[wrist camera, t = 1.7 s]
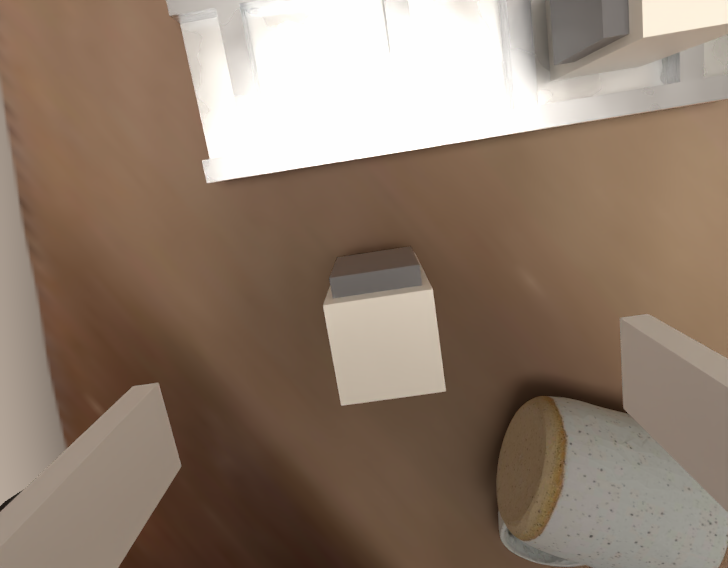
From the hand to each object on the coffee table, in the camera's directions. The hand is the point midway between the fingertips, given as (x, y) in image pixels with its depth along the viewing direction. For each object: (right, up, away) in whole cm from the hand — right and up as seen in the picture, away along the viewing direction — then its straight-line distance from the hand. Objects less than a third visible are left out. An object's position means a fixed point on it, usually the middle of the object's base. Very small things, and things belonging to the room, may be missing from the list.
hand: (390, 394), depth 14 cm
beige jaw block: (0, +3, +12) cm, 12 cm away
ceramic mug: (+11, -7, +14) cm, 19 cm away
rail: (+3, +14, +9) cm, 17 cm away
